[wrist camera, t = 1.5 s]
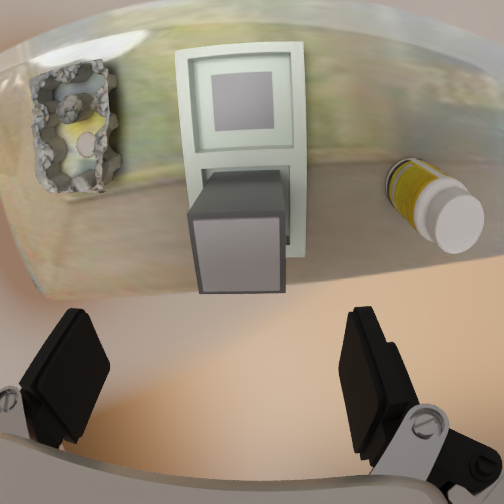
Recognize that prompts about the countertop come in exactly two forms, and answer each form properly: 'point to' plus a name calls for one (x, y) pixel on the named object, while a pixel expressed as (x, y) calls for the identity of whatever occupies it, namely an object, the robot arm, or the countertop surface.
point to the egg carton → (68, 112)
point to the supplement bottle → (435, 204)
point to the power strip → (246, 119)
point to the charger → (240, 233)
